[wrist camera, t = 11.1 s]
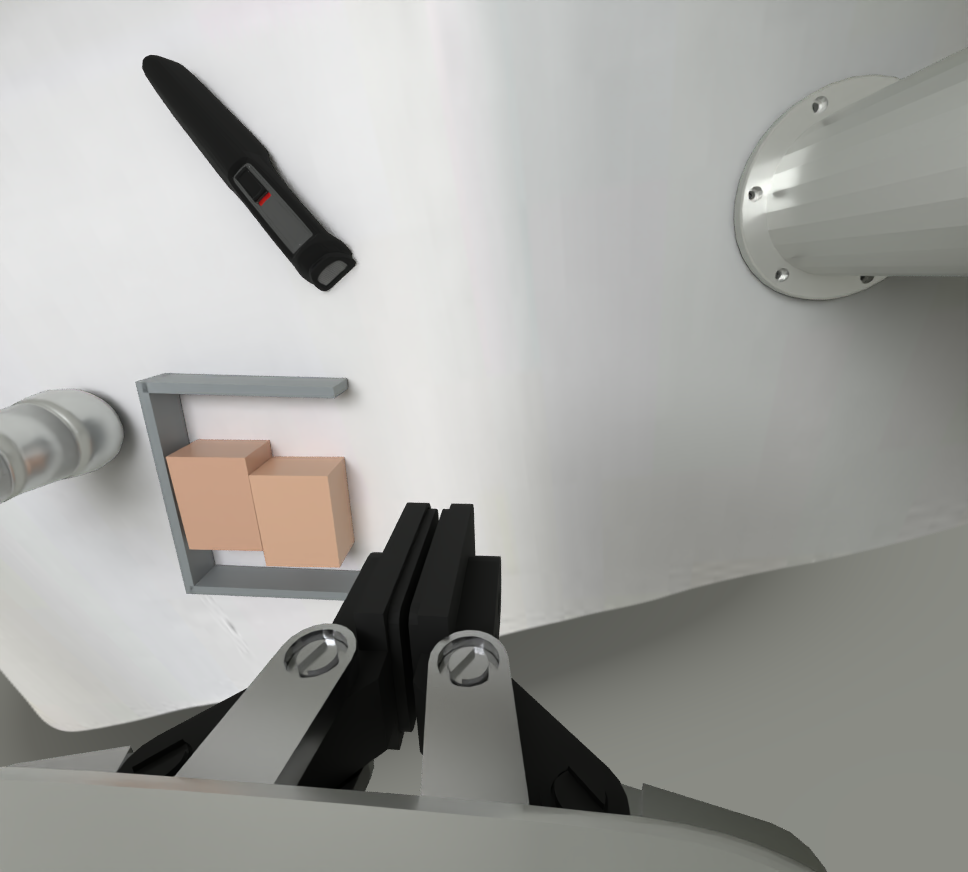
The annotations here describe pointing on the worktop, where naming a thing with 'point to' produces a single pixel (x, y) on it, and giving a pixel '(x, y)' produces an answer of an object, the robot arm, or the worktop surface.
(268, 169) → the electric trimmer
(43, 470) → the plastic bottle
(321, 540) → the tile
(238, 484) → the tile
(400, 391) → the worktop surface
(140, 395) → the organizer bay
